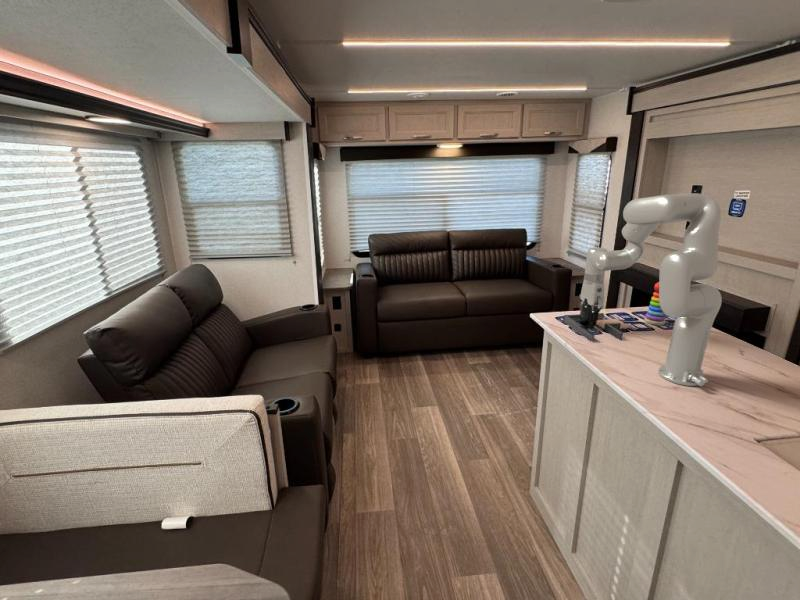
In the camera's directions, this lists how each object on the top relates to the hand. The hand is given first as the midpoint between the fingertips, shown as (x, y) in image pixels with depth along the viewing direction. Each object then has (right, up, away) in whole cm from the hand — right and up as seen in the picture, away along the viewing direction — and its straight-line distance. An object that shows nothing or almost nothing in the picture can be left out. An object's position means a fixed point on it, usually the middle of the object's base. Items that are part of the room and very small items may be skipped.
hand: (588, 317), depth 173 cm
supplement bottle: (0, -3, +1) cm, 4 cm away
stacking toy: (+32, -3, +6) cm, 32 cm away
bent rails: (+3, -5, -1) cm, 6 cm away
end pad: (+12, -3, +4) cm, 13 cm away
